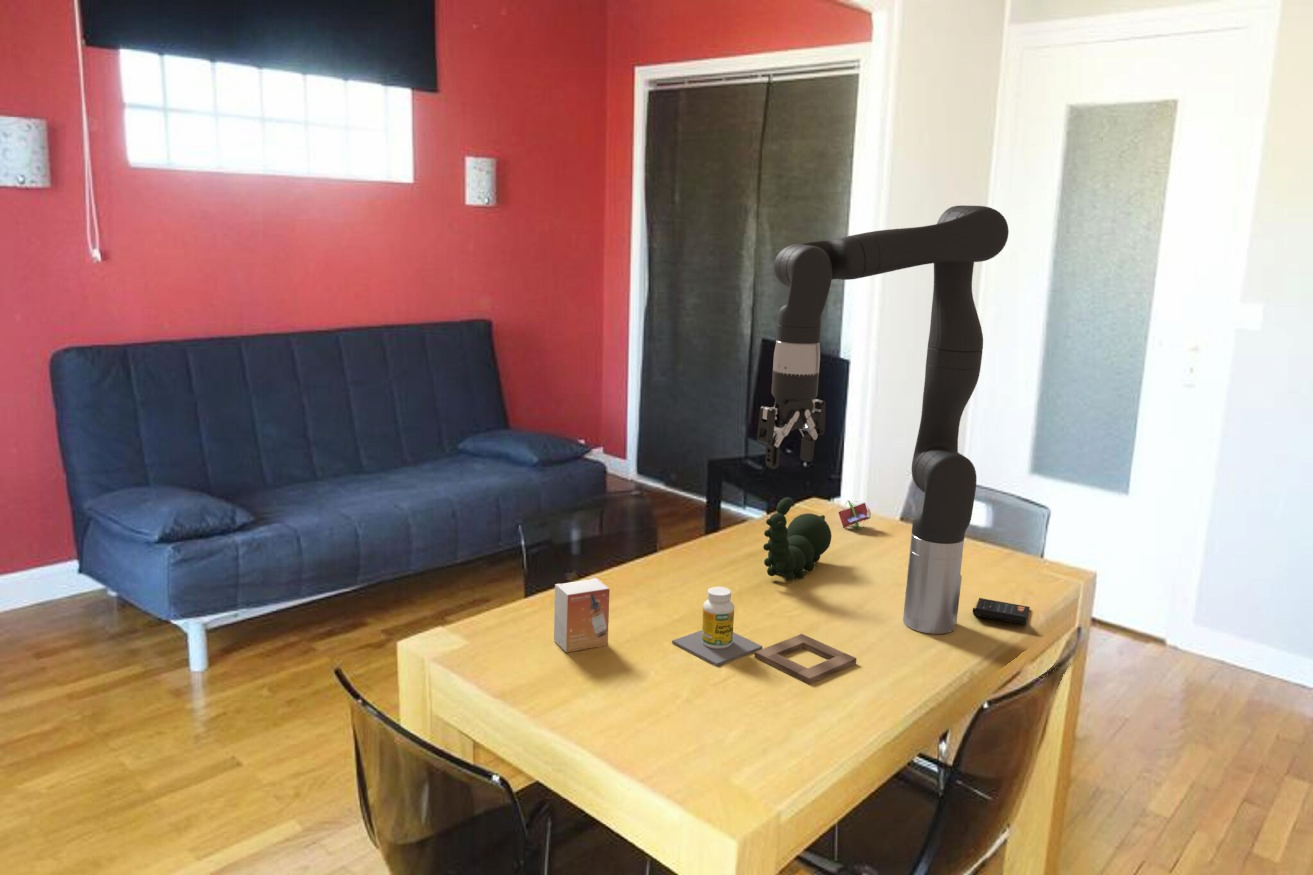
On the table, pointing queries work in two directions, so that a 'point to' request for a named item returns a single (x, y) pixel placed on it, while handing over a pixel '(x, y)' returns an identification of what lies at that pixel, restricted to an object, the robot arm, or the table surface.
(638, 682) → the table surface
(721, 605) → the supplement bottle
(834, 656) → the walnut dock
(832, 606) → the table surface
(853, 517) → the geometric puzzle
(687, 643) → the charcoal mat
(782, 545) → the toy figurine
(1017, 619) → the black flat block
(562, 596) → the small box
